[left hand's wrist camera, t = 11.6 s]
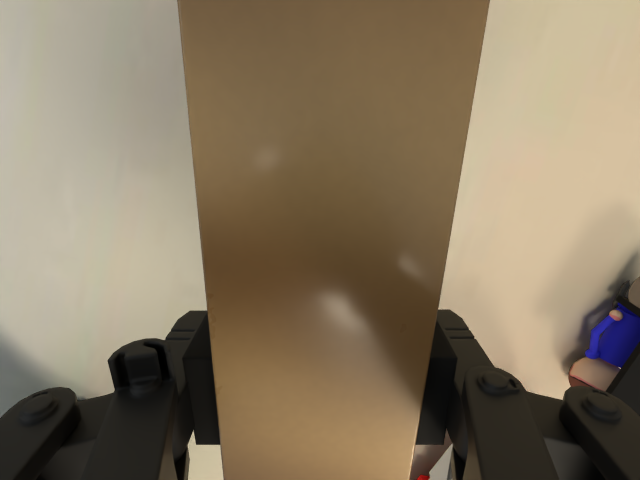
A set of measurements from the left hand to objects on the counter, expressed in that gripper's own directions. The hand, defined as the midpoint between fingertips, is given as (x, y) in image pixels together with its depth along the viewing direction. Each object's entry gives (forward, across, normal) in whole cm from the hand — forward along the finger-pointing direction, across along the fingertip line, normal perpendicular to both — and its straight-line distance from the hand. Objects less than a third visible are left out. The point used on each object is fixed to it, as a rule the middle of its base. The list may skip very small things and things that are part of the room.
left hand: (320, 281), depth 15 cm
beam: (0, -1, -24) cm, 24 cm away
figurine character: (+19, -30, +15) cm, 39 cm away
